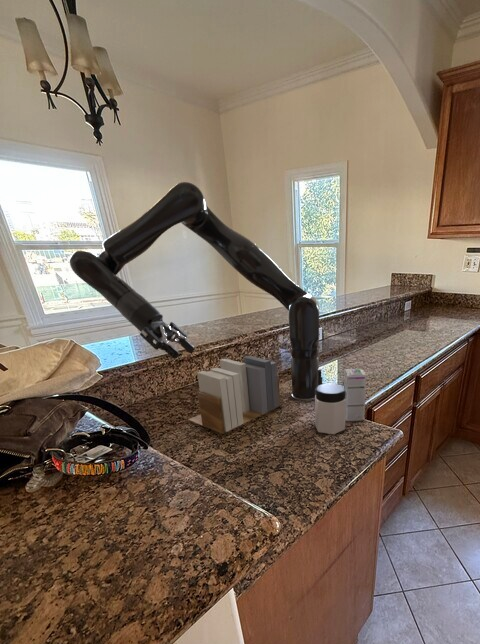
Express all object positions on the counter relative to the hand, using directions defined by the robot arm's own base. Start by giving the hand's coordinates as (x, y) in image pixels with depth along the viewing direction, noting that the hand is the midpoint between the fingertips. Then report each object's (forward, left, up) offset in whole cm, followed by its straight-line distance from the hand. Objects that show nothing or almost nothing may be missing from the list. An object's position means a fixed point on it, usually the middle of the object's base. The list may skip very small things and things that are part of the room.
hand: (185, 353), depth 99 cm
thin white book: (-12, +4, -18) cm, 22 cm away
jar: (-30, +29, -19) cm, 46 cm away
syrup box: (-40, +27, -19) cm, 52 cm away
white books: (-5, +12, -18) cm, 23 cm away
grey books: (-18, +7, -18) cm, 27 cm away
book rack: (-11, +7, -19) cm, 23 cm away
